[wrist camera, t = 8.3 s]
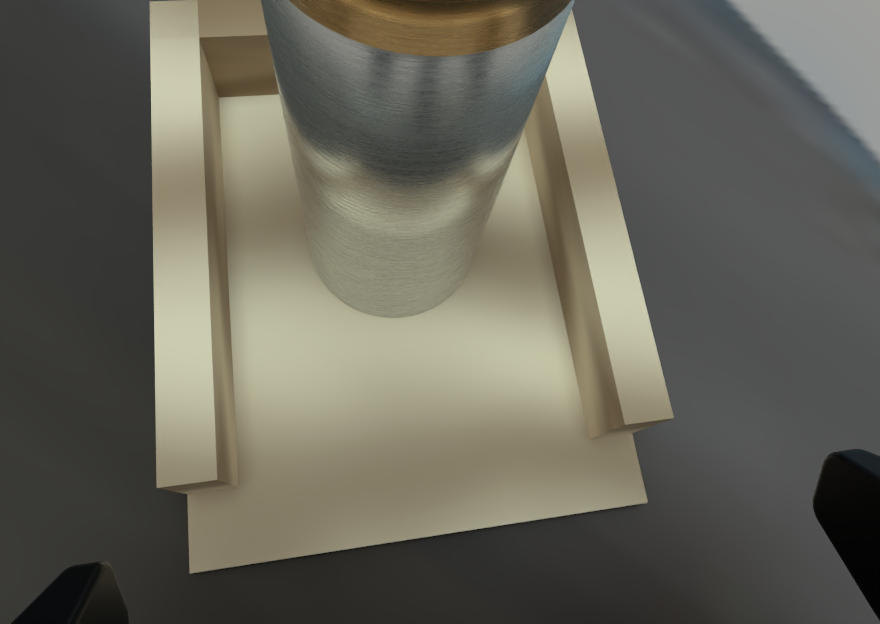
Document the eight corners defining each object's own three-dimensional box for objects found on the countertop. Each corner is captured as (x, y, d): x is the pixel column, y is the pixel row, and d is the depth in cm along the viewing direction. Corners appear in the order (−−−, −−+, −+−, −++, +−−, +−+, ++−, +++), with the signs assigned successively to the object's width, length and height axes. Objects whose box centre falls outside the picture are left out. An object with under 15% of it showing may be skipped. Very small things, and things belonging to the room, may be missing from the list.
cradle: (640, 503, 17) (694, 498, 15) (194, 572, 16) (158, 581, 13) (529, 15, 22) (554, -60, 19) (178, 28, 20) (149, -53, 18)
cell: (504, 272, 19) (815, -308, 6) (357, 348, 17) (338, -166, 5) (422, 144, 20) (533, -592, 7) (279, 207, 18) (85, -533, 6)
